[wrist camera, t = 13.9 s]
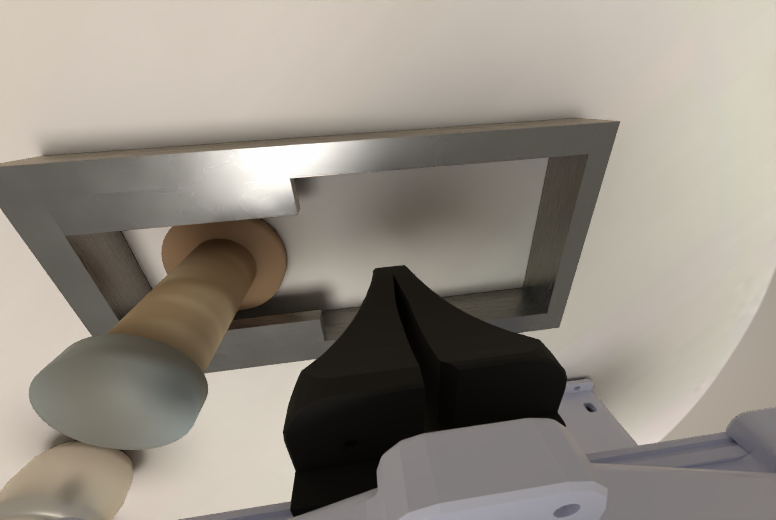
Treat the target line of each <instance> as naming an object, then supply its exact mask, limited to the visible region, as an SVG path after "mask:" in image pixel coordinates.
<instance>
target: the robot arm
mask: <svg viewBox="0 0 776 520" xmlns="http://www.w3.org/2000/svg"><path fill="white" fill-rule="evenodd" d="M593 387H594V383H593V381H592V380H591V379H582V380H575V381H568V382H567V376H566V372H565V370H564V368H563V367H562V366H561V365H560V363H559V362H558V361H557V360H556V358H555V357H554V356H553V354H552V353H551V352H550V351H549V350H548V348H547V347H546V346H545V345H544V344H543V343H542V342H541V341H540V340H539V339H535V338H532V337H528V336H525V335H521V334H518V333H515V332H511V331H508V330H505V329H503V328H500V327H497V326H494V325H492V324H489V323H487V322H485V321H482V320H480V319H478V318H476V317H474V316H472V315H470V314H468V313H466V312H464V311H462V310H460V309H458V308H457V307H455V306H453V305H452V304H450V303H449V302H447V301H445V300H444V299H443V298H441V297H440V296H438V295H437V294H436V293H434V292H433V291H432V290H431V289H430V288H428V287H427V286H426V285H425V284H424V283H423V282H422V281H421V280H419V279H418V278H417V277H416V276H415V275H414V274H413V273H412V272H411V271H410V270H409V269H408V268H407V267H406V266H405V265H402V266H392V267H383V268H375V269H374V270H373V277H372V281H371V284H370V287H369V290H368V292H367V295H366V297H365V299H364V301H363V303H362V305H361V307H360V309H359V311H358V312H357V314H356V316H355V317H354V319H353V320H352V322H351V323H350V324H349V326H348V327H347V328H346V330H345V331H344V332H343V333H342V335H341V336H340V337H339V338H338V339H337V340H336V341H335V342H334V343H333V344H332V345H331V346H330V348H329V349H328V350H327V351H326V352H325V353H323V354H322V355H321V356H320V357H319V358H317V359H316V360H315V361H314V362H312V363H311V364H310V365H309V366H307V367H306V368H305V369H303V370H302V371H301V373H300V375H299V377H298V380H297V382H296V385H295V387H294V390H293V393H292V396H291V399H290V402H289V405H288V409H287V414H286V419H285V425H284V430H283V435H284V442H285V444H286V447H287V450H288V452H289V455H290V457H291V460H292V463H293V465H294V468H295V471H296V472H295V479H294V485H293V492H292V499H291V502H285V503H279V504H273V505H266V506H260V507H254V508H248V509H241V510H235V511H229V512H223V513H217V514H210V515H204V516H198V517H192V518H185V519H179V520H776V407H770V408H764V409H757V410H751V411H747V412H743V413H741V414H739V415H738V416H736V417H735V418H734V419H733V420H732V421H731V422H730V423H729V424H728V426H727V428H726V432H721V433H714V434H708V435H702V436H696V437H690V438H684V439H677V440H671V441H665V442H658V443H652V444H646V445H640V446H638V445H637V443H636V442H635V441H634V440H633V439H632V437H631V436H630V435H629V434H628V433H627V431H626V430H625V429H624V428H623V427H622V426H621V424H620V423H619V422H618V421H617V420H616V418H615V417H614V416H613V415H612V414H611V412H610V411H609V410H608V409H607V408H606V407H605V405H604V404H603V403H602V402H601V401H600V399H599V398H598V397H597V396H596V395H595V393H594V392H593V391H592V389H593ZM52 520H85V519H82V518H76V517H65V518H58V519H52Z"/></svg>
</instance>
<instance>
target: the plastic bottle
mask: <svg viewBox="0 0 776 520" xmlns="http://www.w3.org/2000/svg"><path fill="white" fill-rule="evenodd" d="M132 480H133V468H132V462H131V460H130V458H129V457H128V456H127V455H126V454H124V453H123V452H122V451H120V450H118V449H111V448H104V447H99V446H94V445H91V444H87V443H84V442H81V441H75V442H67V443H63V444H60V445H57V446H55V447H53V448H51V449H49V450H47V451H45V452H43V453H41V454H40V455H38V456H36V457H35V458H33V459H32V460H31V461H30V462H29V463H28V464H27V465H26V466H25V467H24V468H22V469H21V470H20V471H19V472H18V473H17V474H16V475H15V476H14V477H12V478H11V479H10V480H9V481H8V482H7V483H6V485H5V486H4V487H3V489H2V490H1V491H0V520H52V519H58V518H65V517H76V518H82V519H85V520H113V518H114V517H115V515H116V514H117V512H118V511H119V510H120V508H121V507H122V505H123V503H124V501H125V498H126V496H127V493H128V491H129V488H130V486H131V483H132Z"/></svg>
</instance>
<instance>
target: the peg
mask: <svg viewBox="0 0 776 520" xmlns="http://www.w3.org/2000/svg"><path fill="white" fill-rule="evenodd" d="M162 261H163V264H164V268H165V270H166V272H167V274H168V275H167V276H166V277H165V278H164V279H163V280H162V281H161V282H160V283H159V284H158V285H157V286H156V287H155V288H154V289H153V290H152V291H150V292H149V293H148V294H147V295H146V296H145V297H144V298H143V299H142V300H141V301H140V302H139V303H138V304H137V305H136V306H135V307H134V308H133V309H132V310H131V311H130V312H129V313H128V314H127V315H126V316H124V317H123V318H122V319H121V320H120V321H119V322H118V323H117V324H116V325H115V326H114V327H113V328H112V329H111V330H110V331H109V332H108V333H107V334H105V335H97V336H92V337H88V338H85V339H82V340H80V341H78V342H76V343H74V344H72V345H71V346H69V347H68V348H67V349H66V350H65V351H63V352H62V353H61V354H60V355H59V356H58V357H57V358H55V359H54V360H53V361H52V362H51V363H50V364H49V365H47V366H46V367H45V368H44V369H43V370H42V371H41V372H40V373H39V374H38V375H37V376H35V378H34V379H33V381H32V382H31V385H30V388H29V398H30V402H31V405H32V407H33V409H34V410H35V412H36V413H37V414H38V416H39V417H40V418H41V419H42V420H43V421H44V422H46V423H47V424H48V425H49V426H51V427H52V428H54V429H55V430H57V431H59V432H60V433H62V434H64V435H66V436H68V437H71V438H73V439H75V440H78V441H81V442H84V443H87V444H91V445H94V446H99V447H104V448H111V449H121V450H141V449H150V448H156V447H160V446H164V445H167V444H170V443H172V442H175V441H176V440H178V439H180V438H182V437H183V436H184V435H186V434H187V433H188V432H189V431H190V429H191V428H192V426H193V425H194V423H195V421H196V419H197V417H198V414H199V412H200V410H201V408H202V406H203V404H204V402H205V400H206V397H207V394H208V384H207V380H206V377H205V375H204V373H205V371H206V369H207V367H208V365H209V363H210V362H211V360H212V358H213V356H214V354H215V352H216V350H217V348H218V346H219V345H220V343H221V341H222V339H223V337H224V335H225V333H226V331H227V330H228V328H229V326H230V324H231V322H232V320H233V318H234V316H235V314H236V313H237V311H238V310H246V309H251V308H254V307H257V306H259V305H261V304H263V303H265V302H266V301H268V300H269V299H270V298H271V297H272V296H273V295H274V294H275V293H276V292H277V290H278V289H279V287H280V285H281V282H282V280H283V277H284V274H285V271H286V267H287V255H286V250H285V247H284V245H283V242H282V241H281V239H280V237H279V236H278V234H277V233H276V231H275V230H274V229H273V228H272V227H271V226H270V225H269V224H268V223H266V222H265V221H264V220H263V219H261V218H256V219H245V220H234V221H223V222H212V223H201V224H190V225H179V226H173V227H172V228H171V229H170V230H169V231H168V233H167V234H166V236H165V239H164V241H163V245H162Z"/></svg>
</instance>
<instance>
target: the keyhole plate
mask: <svg viewBox="0 0 776 520" xmlns="http://www.w3.org/2000/svg"><path fill="white" fill-rule="evenodd" d="M619 123H620V121H609V120H596V119H583V118H571V119H557V120H542V121H528V122H514V123H500V124H486V125H472V126H458V127H444V128H430V129H416V130H402V131H388V132H374V133H359V134H345V135H331V136H317V137H303V138H289V139H275V140H261V141H247V142H233V143H219V144H205V145H191V146H176V147H162V148H148V149H134V150H120V151H106V152H92V153H78V154H64V155H50V156H39V157H33V158H28V159H22V160H17V161H11V162H5V163H0V208H1V210H2V211H3V213H4V214H5V215H6V217H7V218H8V219H9V221H10V222H11V224H12V225H13V226H14V228H15V229H16V231H17V232H18V233H19V235H20V236H21V238H22V239H23V240H24V242H25V243H26V245H27V246H28V247H29V249H30V250H31V252H32V253H33V254H34V256H35V257H36V258H37V260H38V261H39V263H40V264H41V265H42V267H43V268H44V270H45V271H46V272H47V274H48V275H49V277H50V278H51V279H52V281H53V282H54V284H55V285H56V286H57V288H58V289H59V291H60V292H61V293H62V295H63V296H64V297H65V299H66V300H67V302H68V303H69V304H70V306H71V307H72V309H73V310H74V311H75V313H76V314H77V316H78V317H79V318H80V320H81V321H82V323H83V324H84V325H85V327H86V328H87V329H88V331H89V332H90V334H91V335H92V336H97V335H105V334H107V333H108V332H109V331H110V330H111V329H112V328H113V327H114V326H115V325H116V324H117V323H118V322H119V321H120V320H121V319H122V318H123V317H124V316H126V315H127V314H128V313H129V312H130V311H131V310H132V309H133V308H134V307H135V306H136V305H137V304H138V303H139V302H140V301H141V300H142V299H143V298H144V297H145V296H146V295H147V294H148V293H149V292H150V291H152V289H151V287H150V285H149V283H148V282H147V280H146V278H145V276H144V274H143V272H142V270H141V268H140V267H139V265H138V263H137V261H136V259H135V257H134V255H133V254H132V252H131V250H130V248H129V246H128V244H127V242H126V240H125V239H124V237H123V235H122V233H121V231H124V230H135V229H146V228H157V227H168V226H179V225H190V224H201V223H212V222H223V221H234V220H245V219H256V218H267V217H278V216H289V215H298V212H299V210H300V205H299V200H298V195H297V191H296V186H295V181H294V178H301V177H313V176H325V175H338V174H350V173H362V172H374V171H387V170H399V169H411V168H424V167H436V166H448V165H460V164H473V163H485V162H497V161H509V160H522V159H534V158H546V157H550V158H549V163H548V168H547V173H546V178H545V183H544V188H543V193H542V198H541V203H540V208H539V213H538V217H537V222H536V227H535V232H534V237H533V242H532V247H531V252H530V257H529V262H528V267H527V272H526V277H525V282H524V287H523V288H518V289H509V290H501V291H492V292H484V293H475V294H467V295H458V296H449V297H441V298H443V299H444V300H445V301H447V302H449V303H450V304H452V305H453V306H455V307H457V308H458V309H460V310H462V311H464V312H466V313H468V314H470V315H472V316H474V317H476V318H478V319H480V320H482V321H485V322H487V323H489V324H492V325H494V326H497V327H500V328H503V329H505V330H508V331H511V332H515V333H520V332H528V331H535V330H543V329H551V328H559V326H560V323H561V320H562V316H563V313H564V309H565V306H566V303H567V299H568V296H569V292H570V289H571V286H572V282H573V279H574V276H575V272H576V269H577V265H578V262H579V259H580V255H581V252H582V248H583V245H584V242H585V238H586V235H587V232H588V228H589V225H590V221H591V218H592V215H593V211H594V208H595V204H596V201H597V198H598V194H599V191H600V188H601V184H602V181H603V177H604V174H605V171H606V167H607V164H608V160H609V157H610V154H611V150H612V147H613V144H614V140H615V137H616V133H617V130H618V127H619ZM359 309H360V307H356V308H347V309H338V310H330V311H321V310H313V311H305V312H296V313H287V314H279V315H270V316H262V317H253V318H244V319H236V320H232V322H231V324H230V326H229V328H228V330H227V331H226V333H225V335H224V337H223V339H222V341H221V343H220V345H219V346H218V348H217V350H216V352H215V354H214V356H213V358H212V360H211V362H210V363H209V365H208V367H207V369H206V371H205V373H211V372H219V371H226V370H234V369H242V368H250V367H257V366H265V365H273V364H280V363H288V362H296V361H304V360H311V359H317V358H319V357H320V356H321V355H322V354H323V353H325V352H326V351H327V350H328V349H329V348H330V346H331V345H332V344H333V343H334V342H335V341H336V340H337V339H338V338H339V337H340V336H341V335H342V333H343V332H344V331H345V330H346V328H347V327H348V326H349V324H350V323H351V322H352V320H353V319H354V317H355V316H356V314H357V312H358V311H359Z"/></svg>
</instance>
